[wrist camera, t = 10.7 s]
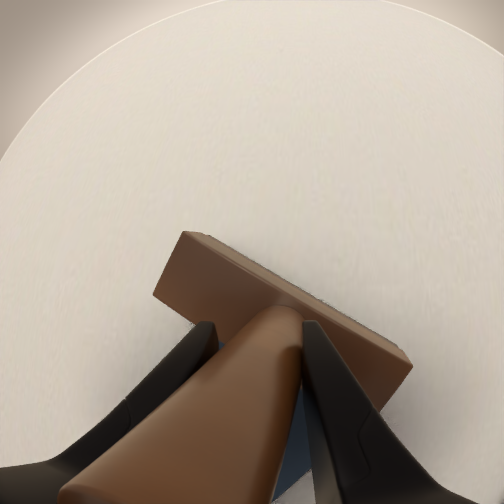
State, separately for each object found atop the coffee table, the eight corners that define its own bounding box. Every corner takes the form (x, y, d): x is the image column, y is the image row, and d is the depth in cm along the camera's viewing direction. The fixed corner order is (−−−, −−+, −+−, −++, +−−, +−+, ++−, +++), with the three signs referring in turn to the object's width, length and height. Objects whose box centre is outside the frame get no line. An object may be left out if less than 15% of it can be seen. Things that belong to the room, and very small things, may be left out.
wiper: (362, 393, 14) (388, 646, 1) (182, 286, 16) (-78, 355, 3) (398, 343, 14) (530, 571, 1) (209, 232, 16) (-74, 209, 3)
